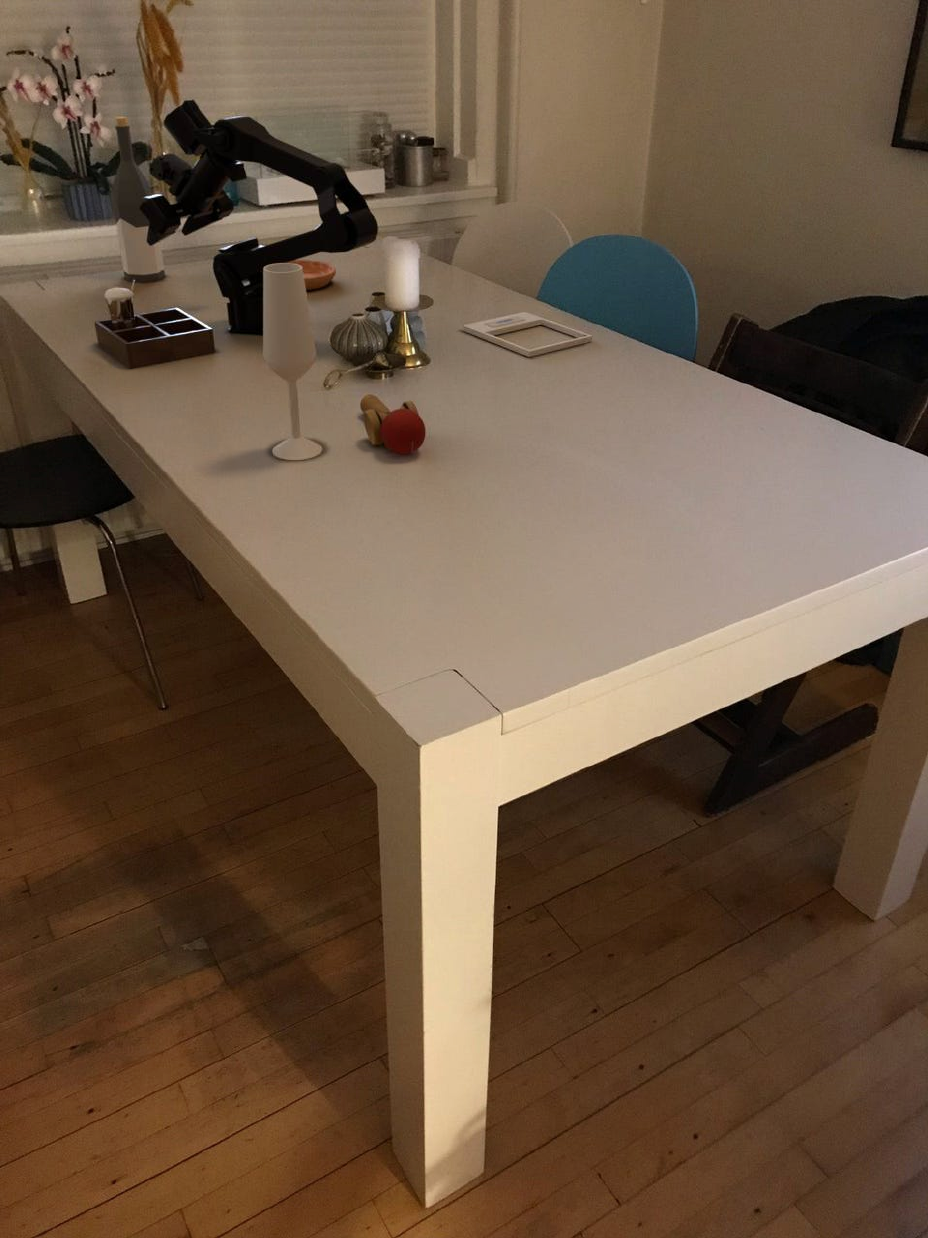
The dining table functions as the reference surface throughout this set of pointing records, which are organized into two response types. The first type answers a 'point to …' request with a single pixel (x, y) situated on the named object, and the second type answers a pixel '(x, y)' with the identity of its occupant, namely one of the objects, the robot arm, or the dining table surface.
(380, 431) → the kendama
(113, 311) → the milkshake
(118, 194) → the wine bottle
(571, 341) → the photo frame
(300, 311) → the champagne flute
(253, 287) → the robot arm
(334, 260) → the dining table surface
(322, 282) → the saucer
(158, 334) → the organiser
